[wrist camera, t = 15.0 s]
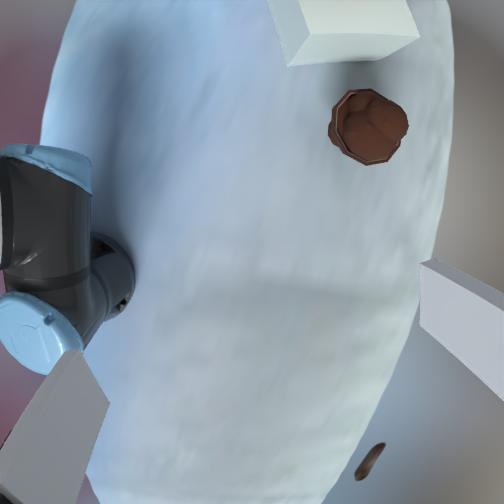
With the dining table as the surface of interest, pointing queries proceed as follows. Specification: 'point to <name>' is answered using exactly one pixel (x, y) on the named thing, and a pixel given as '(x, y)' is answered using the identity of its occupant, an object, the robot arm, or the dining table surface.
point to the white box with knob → (341, 29)
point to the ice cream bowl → (367, 126)
